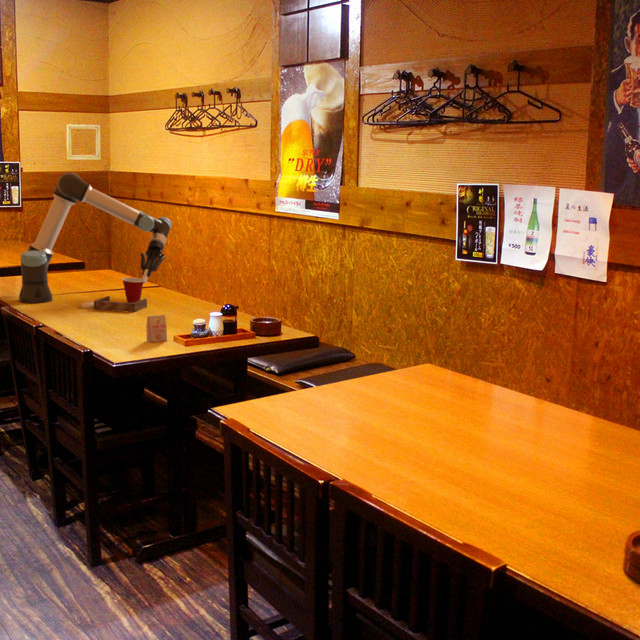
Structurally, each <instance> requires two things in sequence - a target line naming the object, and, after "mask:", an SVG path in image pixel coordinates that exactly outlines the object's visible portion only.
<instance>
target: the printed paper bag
mask: <svg viewBox="0 0 640 640" xmlns="http://www.w3.org/2000/svg"><path fill="white" fill-rule="evenodd" d="M146 319H147V320H146V326H145V327H146V342H148V343H149V344H155V342H156V343H163V342H164V341H166V342H168V336H167V335H168V333H167V332H168V330H167V329H168V328H167V322H166V321H167V320H166V315H165V314H161V315H149V316H147V318H146Z"/></svg>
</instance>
